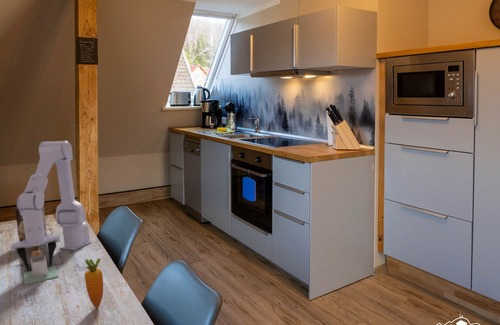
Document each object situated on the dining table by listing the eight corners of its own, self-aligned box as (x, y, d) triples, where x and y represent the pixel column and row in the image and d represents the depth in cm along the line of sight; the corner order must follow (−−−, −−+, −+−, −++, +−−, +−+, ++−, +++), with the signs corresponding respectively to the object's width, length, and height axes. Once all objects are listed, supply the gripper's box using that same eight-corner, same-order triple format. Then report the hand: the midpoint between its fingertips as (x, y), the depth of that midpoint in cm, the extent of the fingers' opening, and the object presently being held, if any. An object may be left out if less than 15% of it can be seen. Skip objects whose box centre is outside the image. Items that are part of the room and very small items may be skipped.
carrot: (108, 302, 120) (103, 254, 117) (103, 311, 115) (97, 261, 113) (91, 303, 120) (85, 255, 117) (85, 312, 115) (79, 262, 112)
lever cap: (32, 272, 142) (30, 256, 141) (46, 269, 144) (44, 253, 143) (33, 278, 137) (31, 262, 136) (48, 275, 139) (46, 259, 138)
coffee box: (18, 245, 170) (13, 208, 167) (28, 240, 176) (23, 203, 173) (39, 245, 169) (34, 208, 166) (48, 240, 175) (44, 203, 172)
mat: (23, 273, 142) (23, 272, 142) (55, 266, 147) (55, 265, 147) (24, 285, 134) (24, 283, 134) (58, 277, 139) (58, 276, 139)
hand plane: (24, 253, 161) (22, 237, 160) (47, 249, 165) (45, 233, 164) (26, 272, 144) (24, 254, 143) (52, 266, 148) (49, 249, 146)
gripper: (9, 235, 131) (15, 275, 133) (59, 226, 138) (63, 264, 140) (9, 229, 137) (14, 268, 139) (56, 221, 144) (61, 258, 146)
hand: (39, 266), depth 140 cm, fingers open, 6 cm apart
